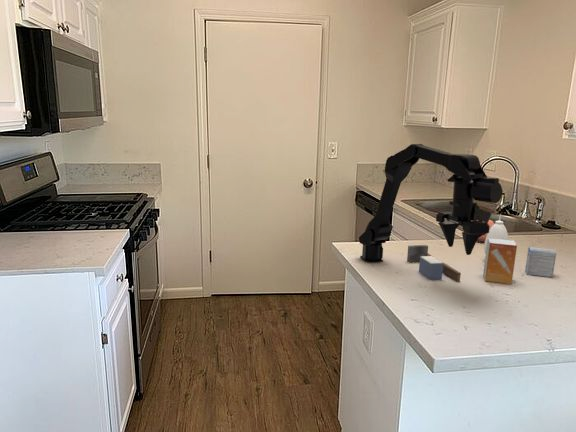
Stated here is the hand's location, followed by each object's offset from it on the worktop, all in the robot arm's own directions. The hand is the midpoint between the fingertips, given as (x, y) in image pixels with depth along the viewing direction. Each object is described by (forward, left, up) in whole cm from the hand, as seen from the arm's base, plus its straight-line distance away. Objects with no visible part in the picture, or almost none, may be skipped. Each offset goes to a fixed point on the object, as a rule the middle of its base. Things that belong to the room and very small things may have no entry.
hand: (459, 250), depth 138 cm
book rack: (+2, +18, -13) cm, 22 cm away
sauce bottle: (+30, +24, -13) cm, 41 cm away
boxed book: (-1, +14, -13) cm, 19 cm away
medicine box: (+37, +10, -13) cm, 41 cm away
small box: (+19, +7, -13) cm, 24 cm away
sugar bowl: (+44, +53, -13) cm, 70 cm away
